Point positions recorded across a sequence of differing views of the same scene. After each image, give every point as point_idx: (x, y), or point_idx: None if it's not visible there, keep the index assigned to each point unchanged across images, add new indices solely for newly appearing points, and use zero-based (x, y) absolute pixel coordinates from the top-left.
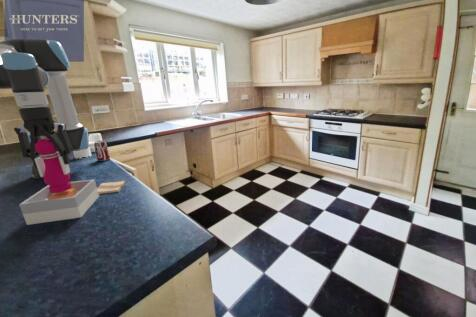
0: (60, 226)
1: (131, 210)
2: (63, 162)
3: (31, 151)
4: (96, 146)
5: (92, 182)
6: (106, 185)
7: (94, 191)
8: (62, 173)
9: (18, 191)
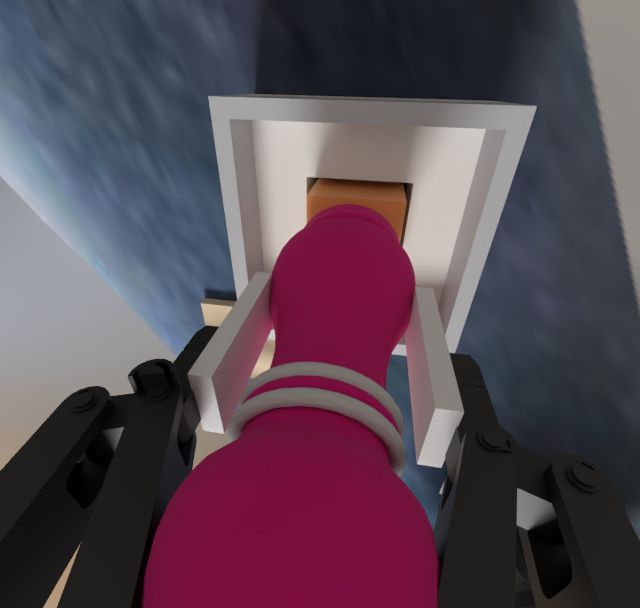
0: (314, 16)
1: (52, 87)
2: (219, 334)
3: (495, 518)
4: None
5: None
6: (270, 358)
7: None
8: (276, 277)
9: (616, 449)
